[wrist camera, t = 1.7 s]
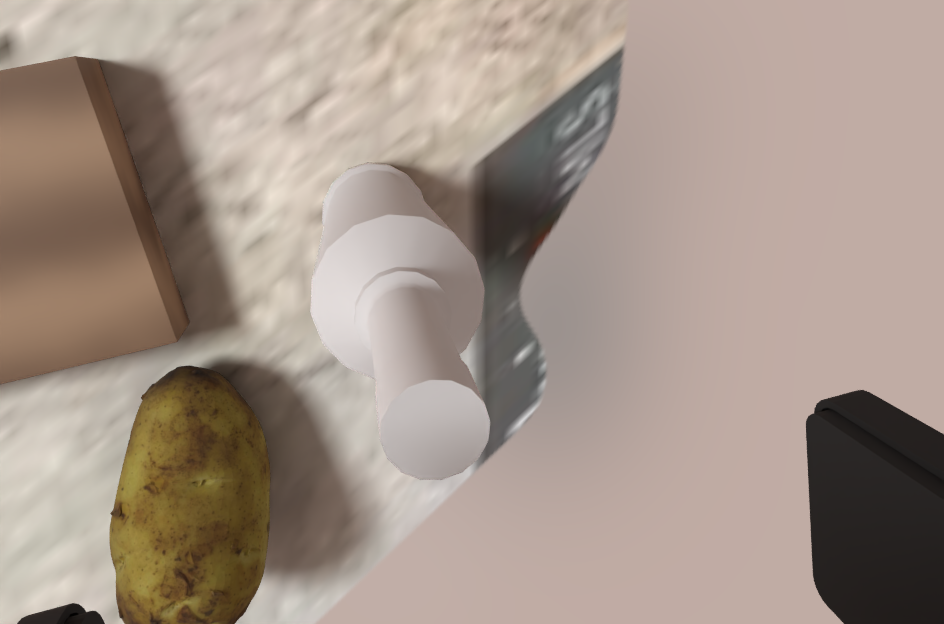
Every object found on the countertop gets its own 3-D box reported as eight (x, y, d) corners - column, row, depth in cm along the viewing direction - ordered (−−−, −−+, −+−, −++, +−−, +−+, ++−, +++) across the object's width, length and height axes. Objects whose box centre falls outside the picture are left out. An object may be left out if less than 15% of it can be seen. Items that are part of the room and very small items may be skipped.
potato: (322, 387, 39) (318, 458, 31) (250, 580, 42) (230, 688, 34) (166, 341, 37) (121, 406, 29) (101, 548, 39) (44, 656, 32)
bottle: (330, 266, 37) (315, 575, 13) (314, 165, 35) (265, 318, 12) (429, 253, 38) (578, 525, 14) (417, 154, 36) (564, 276, 13)
